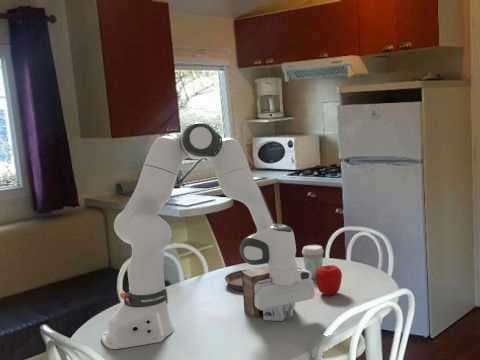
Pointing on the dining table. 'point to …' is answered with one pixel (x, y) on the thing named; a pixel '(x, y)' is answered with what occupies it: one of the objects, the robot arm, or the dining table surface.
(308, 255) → the coffee cup
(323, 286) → the apple
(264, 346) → the dining table surface
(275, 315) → the light bulb box
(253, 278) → the walnut dock
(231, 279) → the plant saucer
